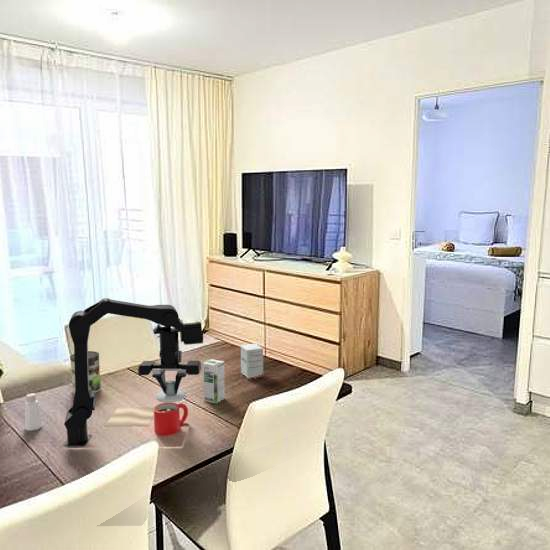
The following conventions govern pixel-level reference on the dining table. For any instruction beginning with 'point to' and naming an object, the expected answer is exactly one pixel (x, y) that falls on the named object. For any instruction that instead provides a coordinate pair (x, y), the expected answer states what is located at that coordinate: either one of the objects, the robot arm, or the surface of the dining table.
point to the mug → (168, 418)
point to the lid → (171, 393)
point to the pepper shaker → (32, 413)
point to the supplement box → (251, 360)
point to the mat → (131, 416)
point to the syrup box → (214, 381)
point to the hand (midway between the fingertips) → (171, 393)
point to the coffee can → (93, 371)
